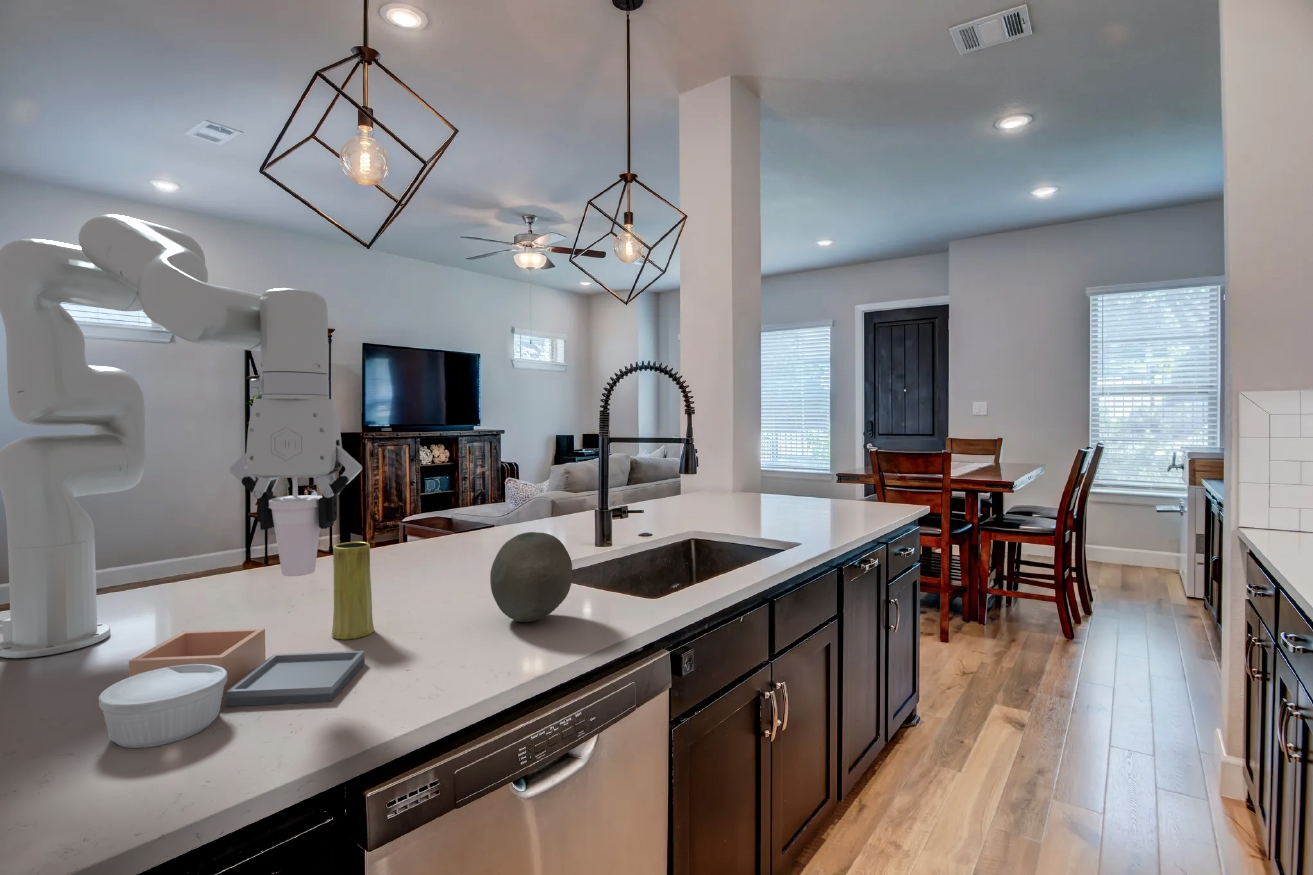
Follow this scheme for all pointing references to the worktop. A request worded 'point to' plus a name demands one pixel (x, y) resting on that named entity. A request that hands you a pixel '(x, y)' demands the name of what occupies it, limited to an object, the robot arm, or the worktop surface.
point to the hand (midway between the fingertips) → (298, 526)
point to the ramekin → (163, 704)
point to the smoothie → (296, 531)
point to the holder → (207, 652)
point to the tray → (296, 678)
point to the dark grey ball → (531, 576)
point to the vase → (352, 591)
